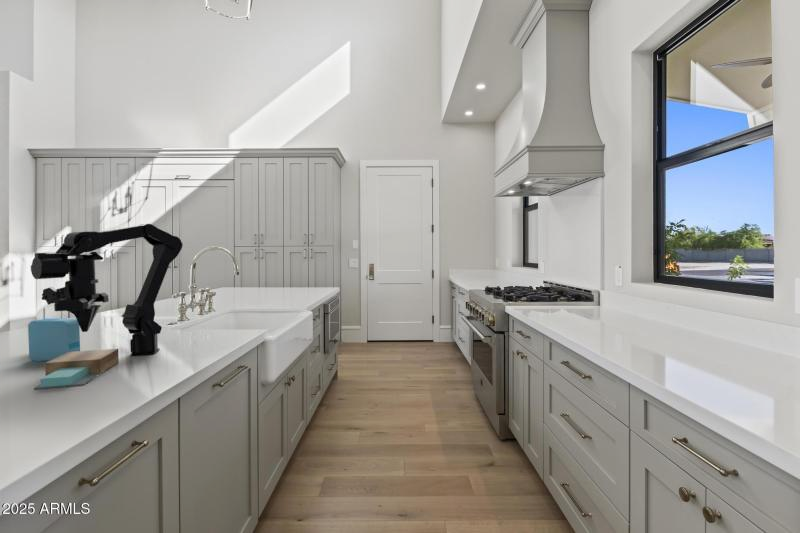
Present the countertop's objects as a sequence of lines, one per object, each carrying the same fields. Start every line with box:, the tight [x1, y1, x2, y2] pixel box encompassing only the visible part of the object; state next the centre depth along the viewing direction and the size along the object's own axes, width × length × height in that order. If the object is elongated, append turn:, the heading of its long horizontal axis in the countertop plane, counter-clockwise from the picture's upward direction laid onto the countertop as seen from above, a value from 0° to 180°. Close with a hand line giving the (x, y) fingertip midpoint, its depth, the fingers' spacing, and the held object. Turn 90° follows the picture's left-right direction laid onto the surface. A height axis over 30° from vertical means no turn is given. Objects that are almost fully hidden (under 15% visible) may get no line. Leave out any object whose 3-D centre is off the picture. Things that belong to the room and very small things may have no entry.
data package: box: [27, 318, 81, 362], centre depth 120 cm, size 12×4×12 cm, turn 89°
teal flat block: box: [39, 366, 89, 387], centre depth 99 cm, size 6×9×2 cm, turn 16°
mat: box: [33, 373, 101, 390], centre depth 100 cm, size 10×10×1 cm
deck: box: [44, 348, 120, 376], centre depth 109 cm, size 12×12×4 cm
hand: (84, 331), depth 112 cm, fingers closed
